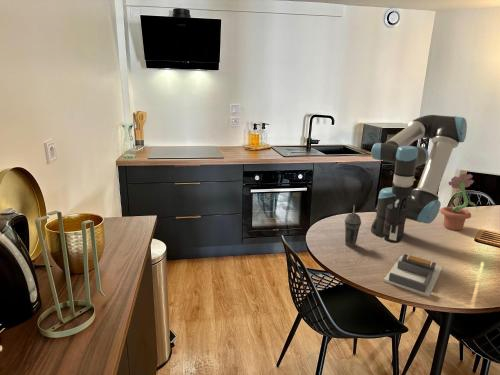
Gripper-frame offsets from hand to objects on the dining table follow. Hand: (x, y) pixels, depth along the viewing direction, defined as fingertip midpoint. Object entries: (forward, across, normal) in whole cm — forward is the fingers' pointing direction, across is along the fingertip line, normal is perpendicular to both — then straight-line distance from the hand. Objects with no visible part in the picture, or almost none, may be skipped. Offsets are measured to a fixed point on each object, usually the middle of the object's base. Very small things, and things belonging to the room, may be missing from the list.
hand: (395, 235), depth 147 cm
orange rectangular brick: (+9, -3, -11) cm, 15 cm away
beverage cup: (+11, 0, +19) cm, 22 cm away
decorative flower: (+12, +54, -16) cm, 58 cm away
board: (+10, -10, -11) cm, 18 cm away
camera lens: (+3, 0, +1) cm, 3 cm away
